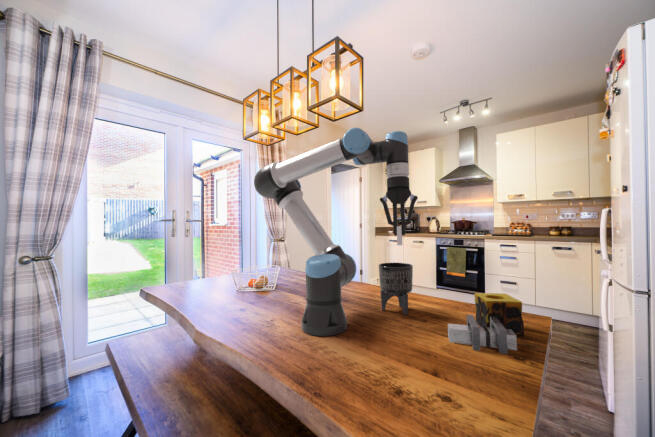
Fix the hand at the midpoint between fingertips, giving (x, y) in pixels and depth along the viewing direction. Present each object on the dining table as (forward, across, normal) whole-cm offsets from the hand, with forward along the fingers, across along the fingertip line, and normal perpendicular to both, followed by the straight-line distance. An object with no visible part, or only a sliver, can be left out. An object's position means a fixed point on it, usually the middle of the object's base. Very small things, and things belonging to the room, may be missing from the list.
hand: (399, 244), depth 90 cm
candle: (+27, +29, +3) cm, 40 cm away
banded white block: (+27, +22, -10) cm, 36 cm away
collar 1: (+26, +20, -10) cm, 35 cm away
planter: (+27, -3, +12) cm, 29 cm away
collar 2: (+26, +26, -10) cm, 38 cm away
